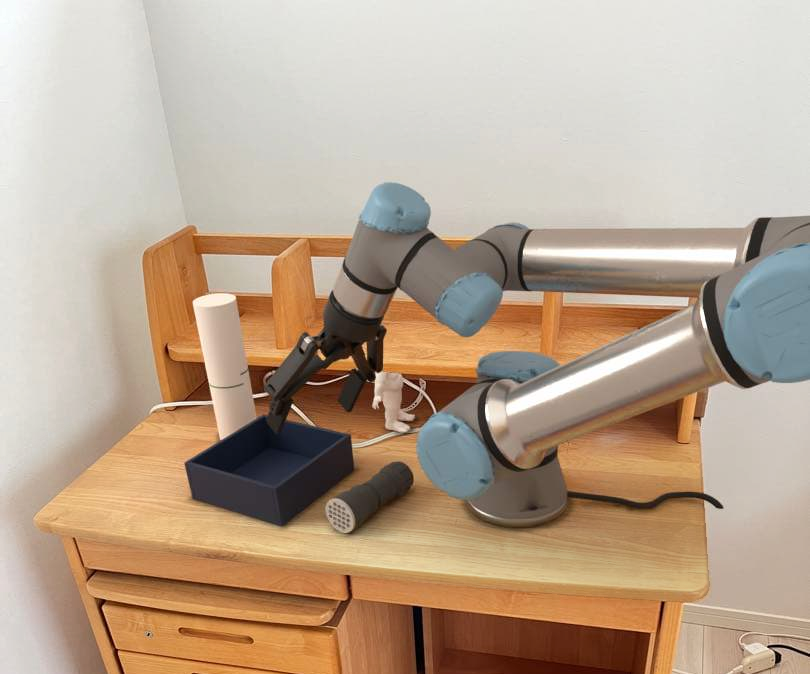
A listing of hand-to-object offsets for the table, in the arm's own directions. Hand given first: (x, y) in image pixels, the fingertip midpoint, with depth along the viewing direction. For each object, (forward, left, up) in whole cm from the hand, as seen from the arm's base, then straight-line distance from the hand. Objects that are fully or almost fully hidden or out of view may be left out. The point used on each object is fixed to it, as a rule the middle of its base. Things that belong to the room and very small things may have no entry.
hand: (309, 416), depth 121 cm
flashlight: (-9, -1, -15) cm, 17 cm away
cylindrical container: (+27, -12, -15) cm, 33 cm away
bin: (+10, -1, -14) cm, 18 cm away
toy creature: (+3, -28, -15) cm, 32 cm away
